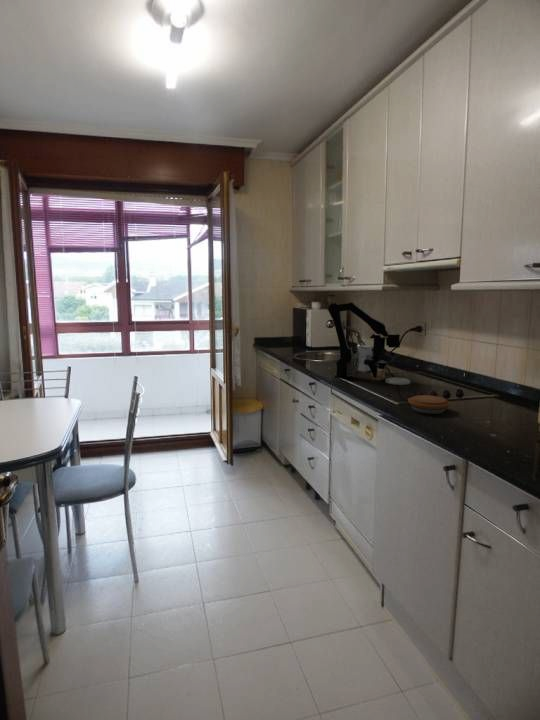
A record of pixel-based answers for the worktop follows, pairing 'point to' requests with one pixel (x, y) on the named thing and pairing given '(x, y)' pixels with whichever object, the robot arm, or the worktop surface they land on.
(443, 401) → the pie
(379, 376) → the beech block
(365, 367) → the syrup box
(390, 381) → the saucer
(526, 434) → the worktop surface
